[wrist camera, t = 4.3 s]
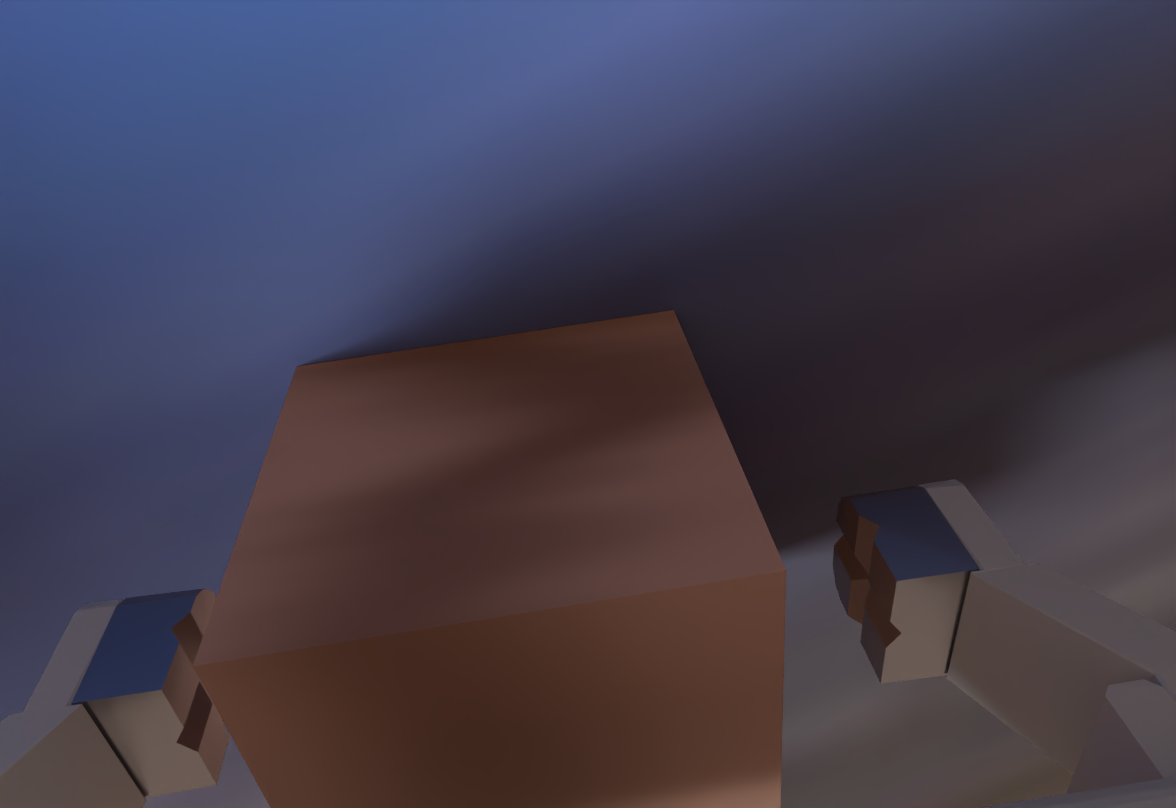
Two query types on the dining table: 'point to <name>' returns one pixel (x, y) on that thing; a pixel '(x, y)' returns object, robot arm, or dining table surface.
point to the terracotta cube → (504, 585)
